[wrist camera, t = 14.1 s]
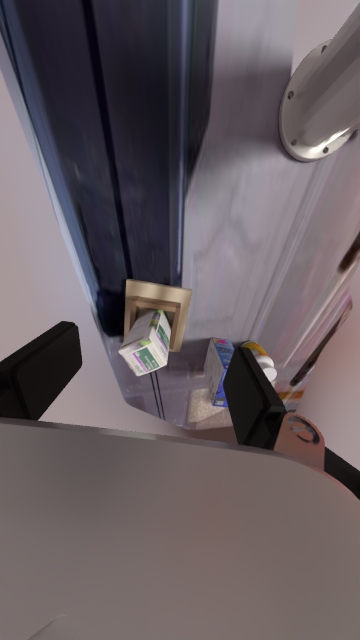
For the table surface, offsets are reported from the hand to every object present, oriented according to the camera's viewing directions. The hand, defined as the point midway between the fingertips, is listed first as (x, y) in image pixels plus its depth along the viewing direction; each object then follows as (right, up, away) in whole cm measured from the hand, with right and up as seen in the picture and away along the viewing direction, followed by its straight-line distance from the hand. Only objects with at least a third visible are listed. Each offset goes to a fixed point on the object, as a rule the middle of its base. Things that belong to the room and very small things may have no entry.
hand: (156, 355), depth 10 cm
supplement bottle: (+20, -6, +34) cm, 39 cm away
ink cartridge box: (+11, -7, +34) cm, 37 cm away
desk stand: (-4, +3, +30) cm, 30 cm away
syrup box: (-4, +2, +29) cm, 29 cm away
